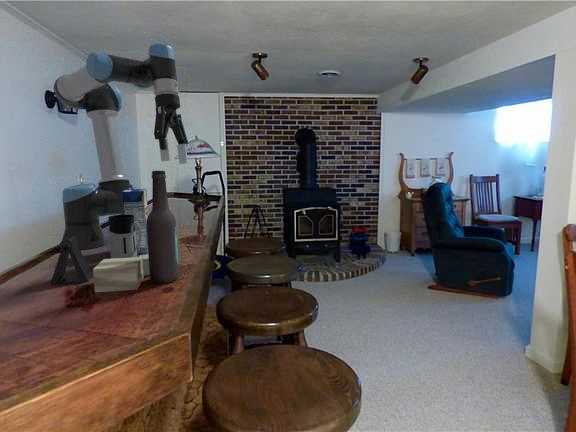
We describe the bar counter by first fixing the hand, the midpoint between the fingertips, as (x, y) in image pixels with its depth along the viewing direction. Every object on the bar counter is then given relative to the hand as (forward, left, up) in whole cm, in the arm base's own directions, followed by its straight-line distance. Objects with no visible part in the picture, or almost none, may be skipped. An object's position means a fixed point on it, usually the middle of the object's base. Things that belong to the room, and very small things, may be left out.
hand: (175, 162), depth 124 cm
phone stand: (+18, -27, -32) cm, 46 cm away
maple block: (+25, -13, -32) cm, 42 cm away
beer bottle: (+23, -2, -32) cm, 39 cm away
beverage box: (-14, -15, -32) cm, 38 cm away
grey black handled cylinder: (+3, -15, -32) cm, 36 cm away
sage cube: (+15, -7, -32) cm, 36 cm away
